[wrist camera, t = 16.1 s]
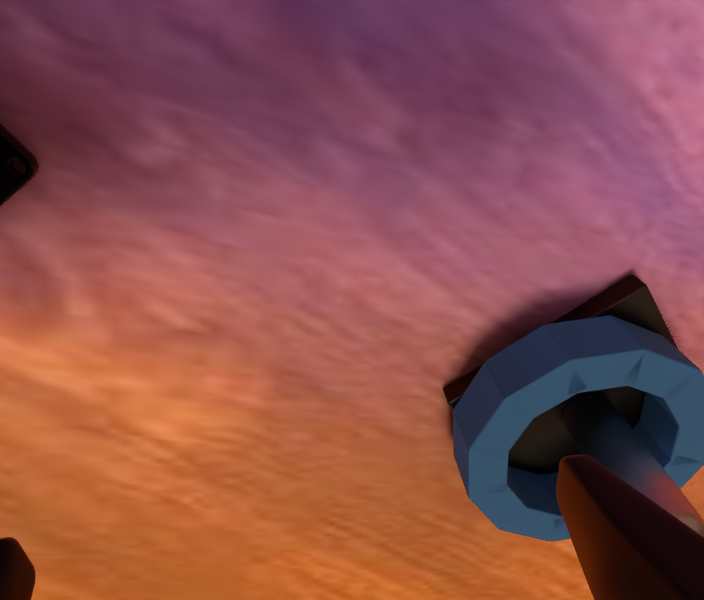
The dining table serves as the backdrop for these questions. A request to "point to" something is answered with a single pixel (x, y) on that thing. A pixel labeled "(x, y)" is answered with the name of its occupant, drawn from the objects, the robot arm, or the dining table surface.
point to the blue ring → (557, 386)
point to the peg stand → (601, 414)
